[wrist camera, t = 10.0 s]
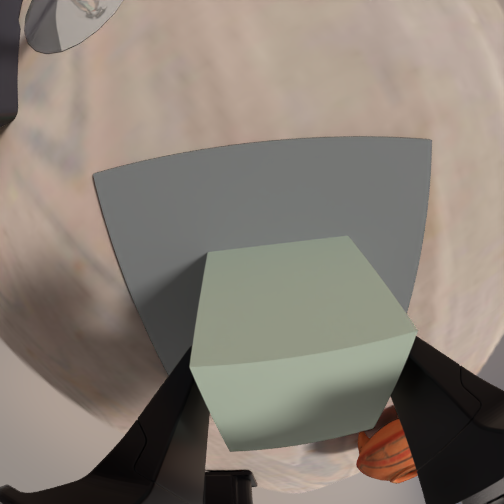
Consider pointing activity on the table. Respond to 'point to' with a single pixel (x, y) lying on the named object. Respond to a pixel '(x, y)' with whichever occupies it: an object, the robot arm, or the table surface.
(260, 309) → the sage block
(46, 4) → the wineglass
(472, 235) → the table surface
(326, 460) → the table surface
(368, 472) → the pot
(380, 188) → the charcoal mat
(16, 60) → the calculator
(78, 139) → the table surface
